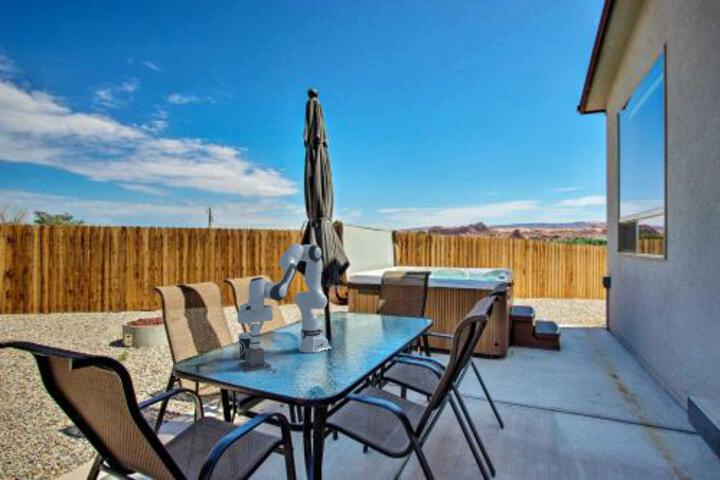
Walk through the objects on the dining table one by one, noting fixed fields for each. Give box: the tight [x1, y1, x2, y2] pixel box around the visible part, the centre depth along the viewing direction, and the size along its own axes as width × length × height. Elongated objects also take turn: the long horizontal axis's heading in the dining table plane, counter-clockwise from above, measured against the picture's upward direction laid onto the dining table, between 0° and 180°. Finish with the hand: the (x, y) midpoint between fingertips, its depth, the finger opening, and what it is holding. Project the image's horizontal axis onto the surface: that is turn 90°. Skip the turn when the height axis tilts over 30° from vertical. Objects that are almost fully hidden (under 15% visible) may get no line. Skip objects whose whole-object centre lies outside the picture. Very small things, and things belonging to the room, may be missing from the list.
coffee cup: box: [237, 331, 251, 361], centre depth 225 cm, size 10×10×15 cm
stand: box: [237, 347, 272, 373], centre depth 208 cm, size 14×14×10 cm
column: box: [250, 322, 261, 351], centre depth 209 cm, size 4×4×16 cm
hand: (255, 329), depth 209 cm, fingers closed on column, 4 cm apart
